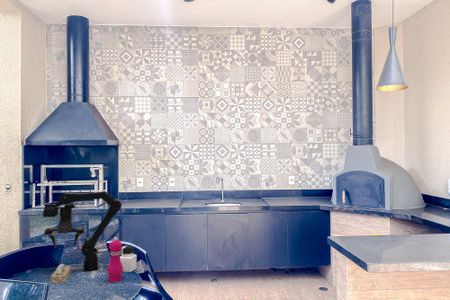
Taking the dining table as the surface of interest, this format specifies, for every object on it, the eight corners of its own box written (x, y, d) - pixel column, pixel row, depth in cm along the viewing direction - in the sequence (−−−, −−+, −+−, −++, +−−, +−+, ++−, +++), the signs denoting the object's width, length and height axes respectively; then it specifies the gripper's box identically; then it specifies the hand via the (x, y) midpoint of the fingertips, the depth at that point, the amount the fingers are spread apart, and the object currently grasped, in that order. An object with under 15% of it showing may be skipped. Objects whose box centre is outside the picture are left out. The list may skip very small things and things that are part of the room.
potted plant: (136, 268, 182) (136, 245, 182) (130, 272, 175) (131, 248, 175) (123, 267, 183) (124, 244, 183) (117, 271, 176) (118, 247, 176)
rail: (71, 271, 176) (71, 265, 176) (64, 282, 159) (64, 275, 159) (58, 272, 174) (58, 266, 174) (50, 283, 158) (50, 276, 158)
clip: (64, 276, 168) (64, 263, 168) (61, 281, 161) (61, 268, 161) (59, 276, 167) (60, 264, 168) (56, 281, 160) (56, 268, 161)
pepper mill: (118, 282, 159) (118, 239, 159) (104, 281, 160) (104, 238, 161) (125, 277, 166) (126, 236, 167) (112, 277, 167) (112, 235, 168)
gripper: (41, 219, 168) (41, 252, 167) (82, 218, 172) (82, 249, 172) (47, 216, 179) (46, 247, 178) (85, 215, 183) (85, 245, 182)
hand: (65, 247), depth 177 cm, fingers open, 9 cm apart
